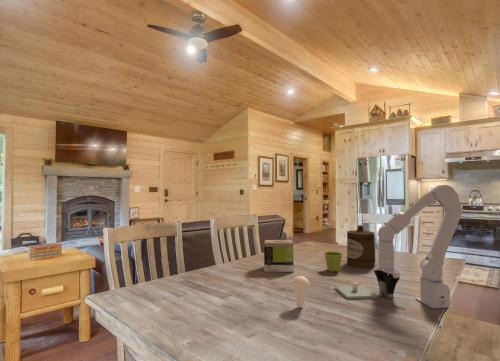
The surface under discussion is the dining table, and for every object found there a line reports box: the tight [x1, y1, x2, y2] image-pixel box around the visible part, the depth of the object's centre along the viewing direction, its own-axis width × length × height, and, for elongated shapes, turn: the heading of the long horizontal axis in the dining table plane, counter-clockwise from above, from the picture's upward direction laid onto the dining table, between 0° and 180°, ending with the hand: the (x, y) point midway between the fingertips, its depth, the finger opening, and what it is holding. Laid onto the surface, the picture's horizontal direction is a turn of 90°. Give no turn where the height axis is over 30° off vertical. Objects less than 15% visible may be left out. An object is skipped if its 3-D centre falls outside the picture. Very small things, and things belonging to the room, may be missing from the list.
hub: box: [378, 279, 395, 299], centre depth 116 cm, size 5×5×6 cm
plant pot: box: [323, 251, 344, 273], centre depth 153 cm, size 9×9×9 cm
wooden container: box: [346, 224, 376, 269], centre depth 165 cm, size 15×15×22 cm
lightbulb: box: [291, 275, 310, 309], centre depth 105 cm, size 6×6×11 cm
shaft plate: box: [334, 281, 378, 300], centre depth 119 cm, size 12×12×4 cm
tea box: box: [263, 239, 295, 273], centre depth 154 cm, size 15×10×15 cm
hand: (386, 291), depth 116 cm, fingers closed on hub, 5 cm apart
